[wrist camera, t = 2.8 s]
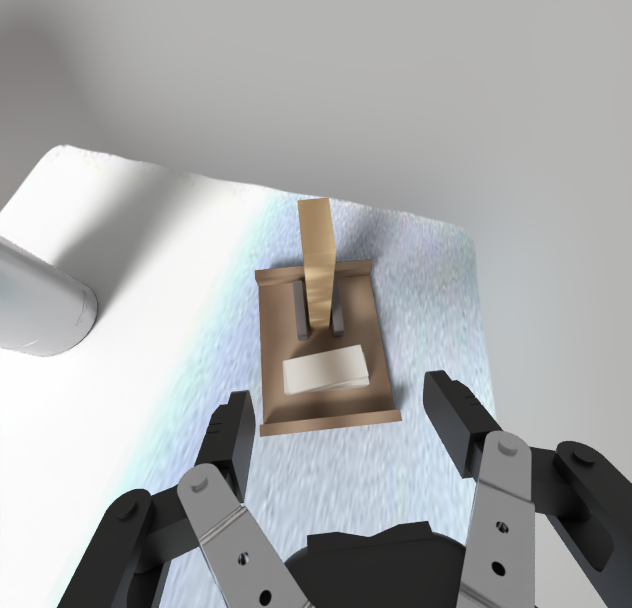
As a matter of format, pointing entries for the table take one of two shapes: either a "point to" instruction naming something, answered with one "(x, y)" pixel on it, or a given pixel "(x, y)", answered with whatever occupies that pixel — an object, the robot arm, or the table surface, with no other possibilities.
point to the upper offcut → (325, 369)
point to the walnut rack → (320, 350)
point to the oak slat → (318, 258)
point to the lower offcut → (338, 387)
